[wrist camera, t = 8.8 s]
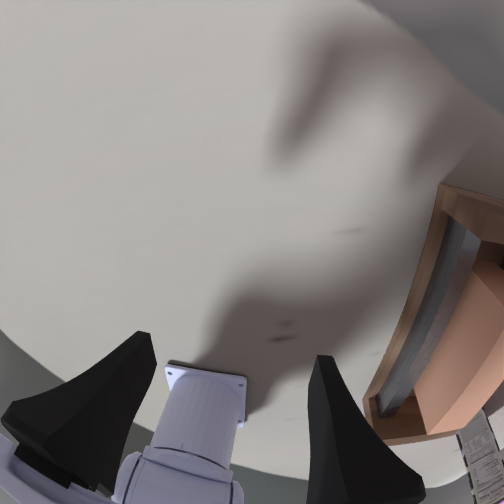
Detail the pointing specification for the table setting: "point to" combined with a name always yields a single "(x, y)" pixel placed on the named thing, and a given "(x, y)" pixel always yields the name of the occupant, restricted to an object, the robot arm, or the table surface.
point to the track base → (432, 308)
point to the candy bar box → (482, 460)
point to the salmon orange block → (466, 355)
